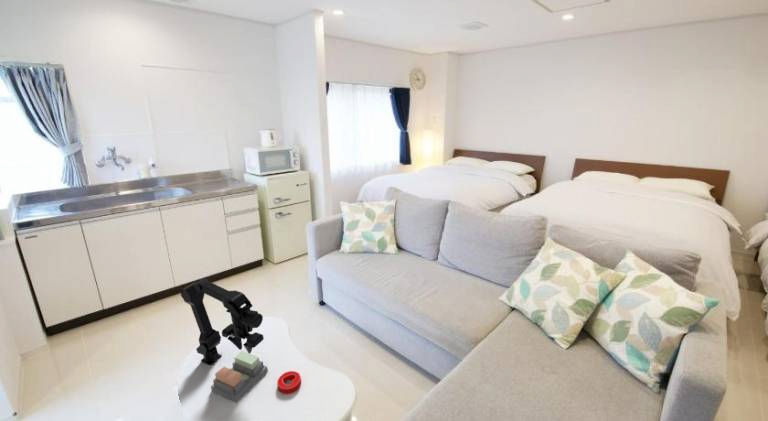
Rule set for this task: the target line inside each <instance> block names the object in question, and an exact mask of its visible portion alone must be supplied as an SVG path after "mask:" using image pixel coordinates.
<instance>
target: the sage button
mask: <svg viewBox="0 0 768 421" xmlns="http://www.w3.org/2000/svg"><path fill="white" fill-rule="evenodd" d="M260 361H261V360H260V357H259V356H256V355H254V354H251V353H250V354H249V353H248V352H247V351H244V350H240V352H239V353H237V355H235V357H234V362H235V363H236V364H238V365H240V366H243V367H245V368H247V369H250V370H252V371H253V370H254V369H255V368H256V367H257V366H258V365H259V364H260Z"/></svg>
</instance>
